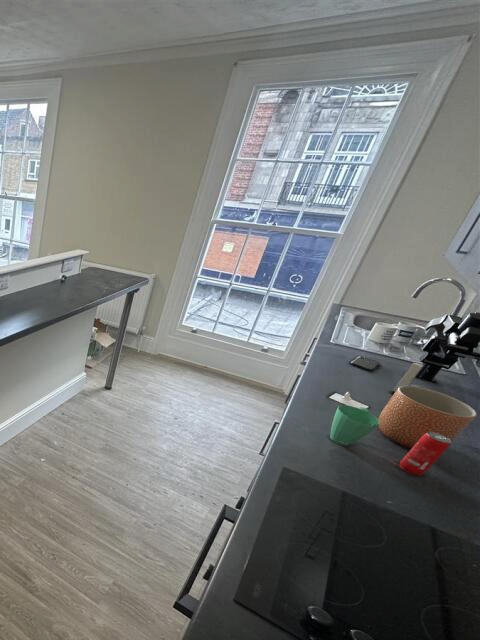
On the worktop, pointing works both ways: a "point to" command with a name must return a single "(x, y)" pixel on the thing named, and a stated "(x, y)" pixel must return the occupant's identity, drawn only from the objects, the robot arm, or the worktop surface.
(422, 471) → the beverage can
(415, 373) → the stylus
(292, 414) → the worktop surface
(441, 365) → the robot arm
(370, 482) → the worktop surface
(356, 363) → the smartphone
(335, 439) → the mug
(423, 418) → the planter
